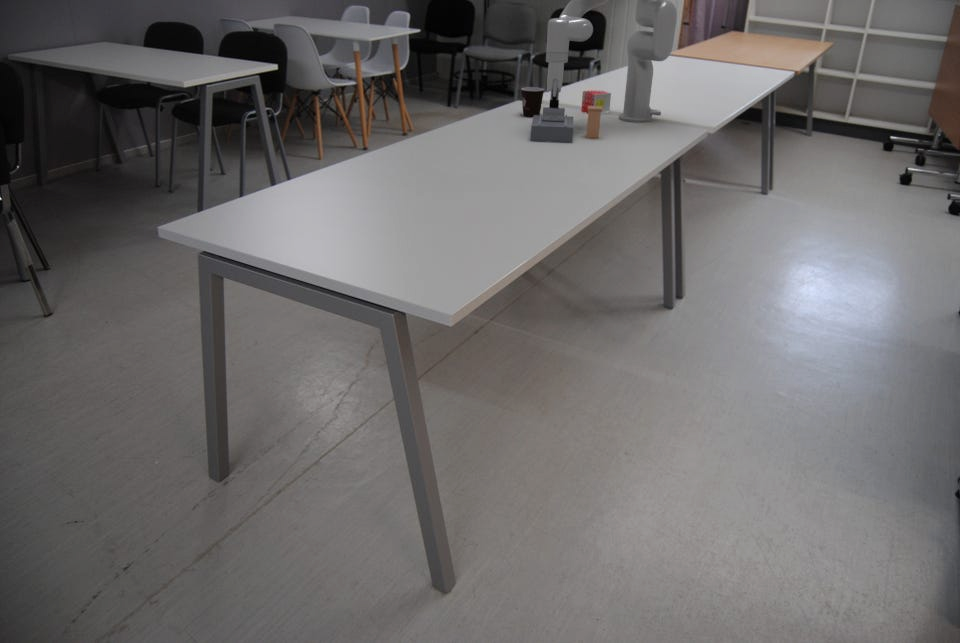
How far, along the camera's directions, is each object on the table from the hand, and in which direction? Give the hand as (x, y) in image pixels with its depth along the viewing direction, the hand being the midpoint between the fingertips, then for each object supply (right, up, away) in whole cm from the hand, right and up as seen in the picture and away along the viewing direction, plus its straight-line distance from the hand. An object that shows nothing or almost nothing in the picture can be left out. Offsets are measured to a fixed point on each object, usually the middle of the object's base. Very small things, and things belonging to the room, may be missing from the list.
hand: (553, 111), depth 263 cm
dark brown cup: (-6, +6, +25) cm, 27 cm away
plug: (+13, -10, -6) cm, 18 cm away
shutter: (-1, -4, -5) cm, 7 cm away
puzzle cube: (+20, +8, +32) cm, 39 cm away
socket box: (-1, -10, -6) cm, 11 cm away
